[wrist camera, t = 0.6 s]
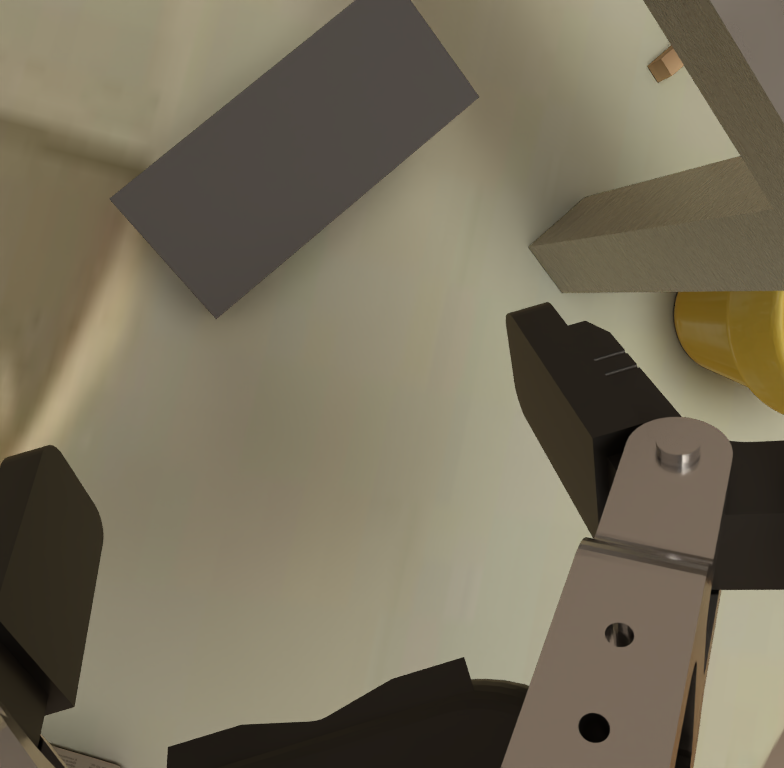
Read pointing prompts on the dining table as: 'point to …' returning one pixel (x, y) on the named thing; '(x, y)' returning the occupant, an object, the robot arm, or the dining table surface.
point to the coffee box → (81, 760)
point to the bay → (665, 64)
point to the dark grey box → (295, 149)
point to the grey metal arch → (695, 174)
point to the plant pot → (736, 337)
